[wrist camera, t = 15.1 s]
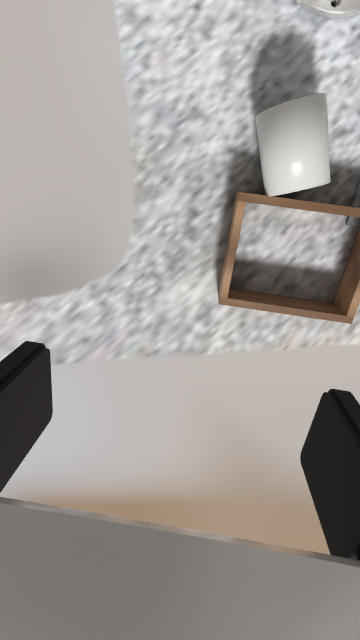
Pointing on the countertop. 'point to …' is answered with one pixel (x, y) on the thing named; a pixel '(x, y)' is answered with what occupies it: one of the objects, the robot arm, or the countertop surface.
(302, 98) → the white plastic tumbler
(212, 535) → the robot arm
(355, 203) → the slate coaster
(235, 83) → the countertop surface
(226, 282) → the walnut open frame
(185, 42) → the countertop surface
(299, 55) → the countertop surface
